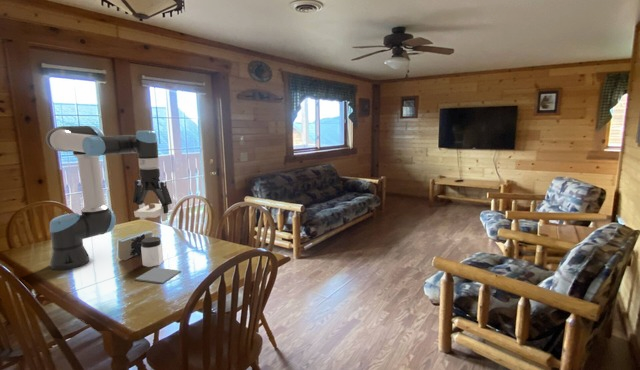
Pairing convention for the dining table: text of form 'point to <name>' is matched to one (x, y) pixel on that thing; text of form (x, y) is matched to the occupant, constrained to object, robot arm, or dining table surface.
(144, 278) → the mat
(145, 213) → the lid
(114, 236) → the dining table surface
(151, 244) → the jar
